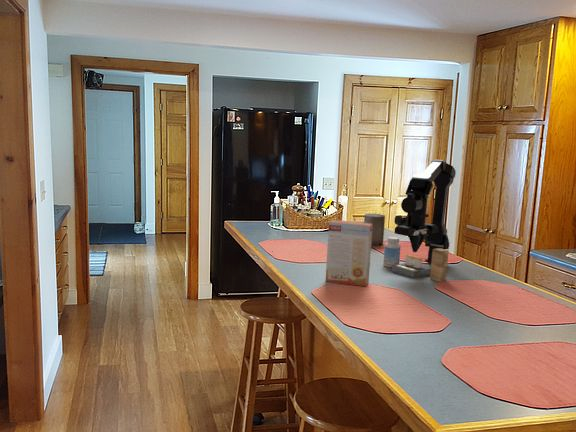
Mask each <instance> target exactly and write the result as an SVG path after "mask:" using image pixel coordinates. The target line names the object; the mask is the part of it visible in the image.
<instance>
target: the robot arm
mask: <svg viewBox="0 0 576 432" xmlns="http://www.w3.org/2000/svg"><path fill="white" fill-rule="evenodd" d="M455 178H456V169H455V168H454V166H453V165H451V164H450V163H448V162H446V161H445V160H443V159H433V160H431V161H430V164H429V165H428V166H427V167H426V168H425V170H424V171H423V172H422V173H418V174H415V175H414V176H412V177H411V179H409V183H408V186H407V188H406V191H405V195H407V196H406V197H405V198H403V199H402V201H401V203H400V207H401V210H402V211H403V212H404V213H406V216H402V215H394V216H395V217H394V225H396V227H394V234H396V235H400V236H405V237H408V239H409V241H410V245H411V246H410V247H411V250H412V252H413V253H418V251H419V249H420V247H421V246H422V244H423V242H424V246H425V247H428V254H427V258H425V259H424V261H426V262H427V263H428V262H429V263H431V261H432V250H433V249H437V248H441V249H445V250H449V249H450V240H449V236H448V229H447V227H446V225H445V217H446V211H447V210H446V209H447V200H448V192H449V188H450V187H451V185H452V184H453V183H454V179H455ZM434 186H435V196H434V204H433V213H432V221H431V223H427V222H426V221H427V220H426V219H427V218H429V216H430V214H429V213H427V209H428V199H429V198H430V196H429V195H430V194H431V192H432V190H433V187H434Z"/></svg>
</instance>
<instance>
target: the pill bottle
mask: <svg viewBox="0 0 576 432" xmlns="http://www.w3.org/2000/svg"><path fill="white" fill-rule="evenodd" d="M386 241H387V242H386V243H385V244H384V251H383V252H384V253H383V262H382V263H383V265H384V266H385V267H386V268H392V265H397V264H400V259H401V258H400V257H401V244H400V243H399V242H400V238H399V237H396V236H387V240H386Z"/></svg>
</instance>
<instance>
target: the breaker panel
mask: <svg viewBox="0 0 576 432" xmlns="http://www.w3.org/2000/svg"><path fill="white" fill-rule="evenodd" d="M413 266H414V264H413V265H412V266H409V265H406V264H405V262H404V263H399V264H397V265H392V267H391V272H392V273H396V274H398V275H400V276H401V275H402V276H405V277H408V278H411V279H415V278H420V277H421V278H423V277H427V276H430V271H431V265H430V266H429V265H426V264H423V263H422V268H416V267H413Z"/></svg>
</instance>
